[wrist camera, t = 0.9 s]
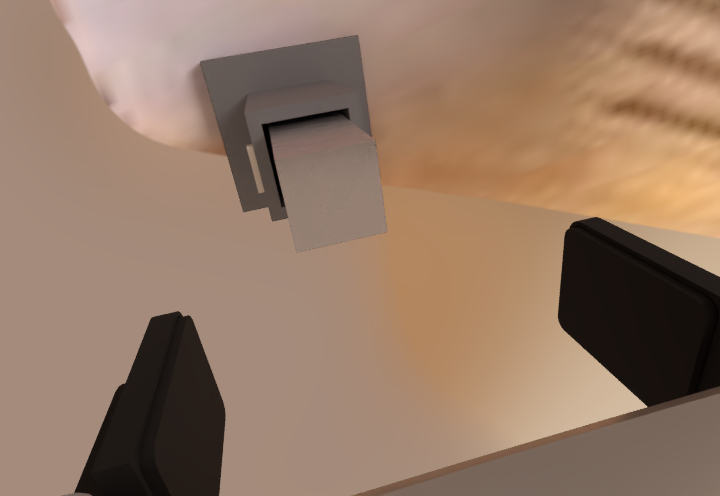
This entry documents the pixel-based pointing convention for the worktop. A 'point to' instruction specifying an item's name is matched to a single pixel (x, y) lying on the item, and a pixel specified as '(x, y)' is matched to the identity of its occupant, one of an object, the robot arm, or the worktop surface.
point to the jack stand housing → (280, 106)
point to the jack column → (328, 179)
